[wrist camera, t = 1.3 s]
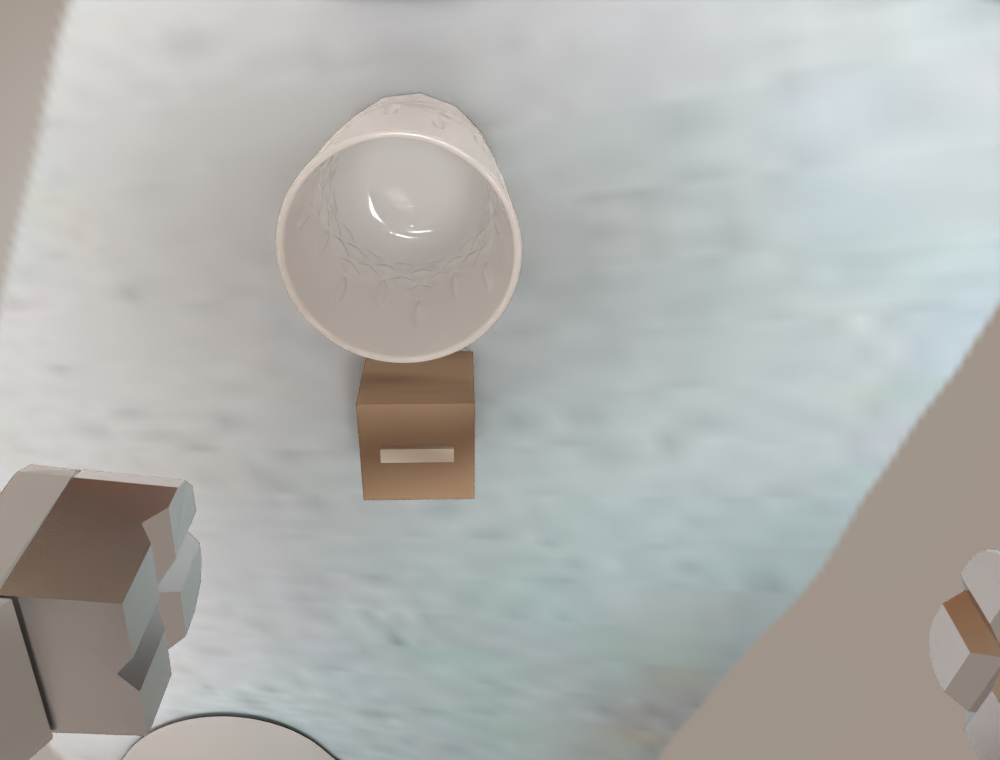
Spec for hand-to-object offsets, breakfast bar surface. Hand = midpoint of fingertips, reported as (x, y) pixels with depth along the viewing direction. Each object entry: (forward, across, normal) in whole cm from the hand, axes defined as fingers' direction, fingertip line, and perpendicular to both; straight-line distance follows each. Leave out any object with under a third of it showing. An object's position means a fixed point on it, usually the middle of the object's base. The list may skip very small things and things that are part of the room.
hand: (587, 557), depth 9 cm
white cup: (+28, -4, -7) cm, 29 cm away
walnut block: (+27, -2, -18) cm, 32 cm away
